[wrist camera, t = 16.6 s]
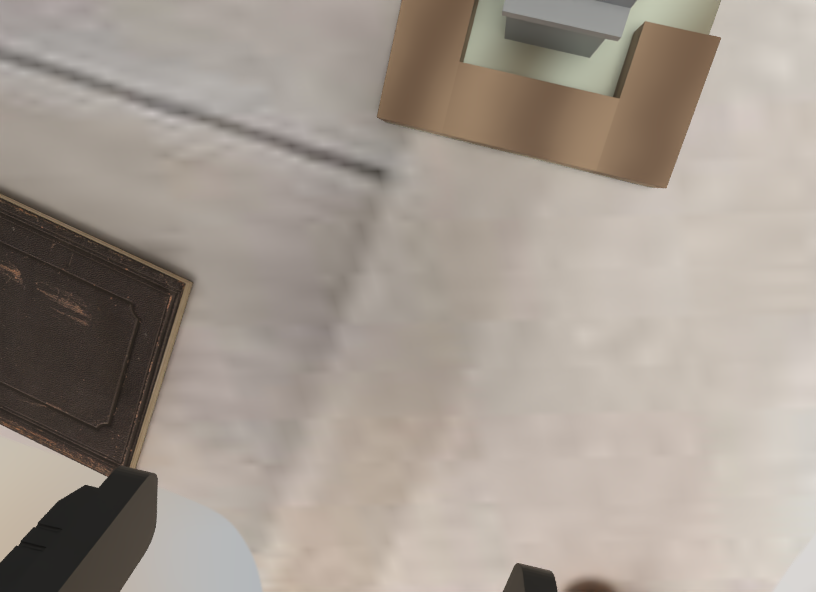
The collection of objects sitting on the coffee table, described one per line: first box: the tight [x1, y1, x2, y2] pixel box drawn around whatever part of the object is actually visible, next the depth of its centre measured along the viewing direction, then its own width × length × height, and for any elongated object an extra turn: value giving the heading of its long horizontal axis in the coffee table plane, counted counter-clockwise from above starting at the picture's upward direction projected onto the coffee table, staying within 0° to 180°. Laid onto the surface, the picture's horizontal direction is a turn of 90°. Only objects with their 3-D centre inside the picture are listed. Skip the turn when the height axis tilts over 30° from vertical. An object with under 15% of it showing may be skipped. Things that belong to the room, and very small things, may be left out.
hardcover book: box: [0, 194, 193, 477], centre depth 36 cm, size 16×23×2 cm
